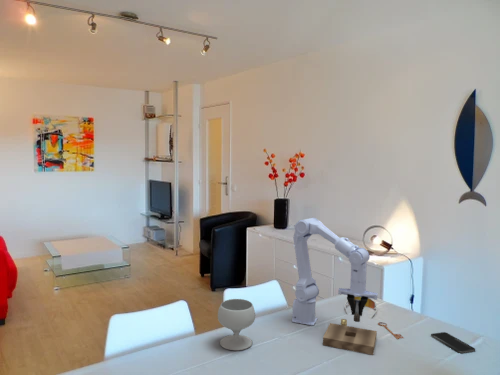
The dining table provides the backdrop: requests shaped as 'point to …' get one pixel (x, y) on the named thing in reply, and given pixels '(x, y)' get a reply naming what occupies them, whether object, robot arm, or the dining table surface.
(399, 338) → the key
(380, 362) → the dining table surface
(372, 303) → the sunglasses
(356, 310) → the long pin
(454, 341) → the phone
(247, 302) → the chalice
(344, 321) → the short pin
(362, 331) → the hole block
